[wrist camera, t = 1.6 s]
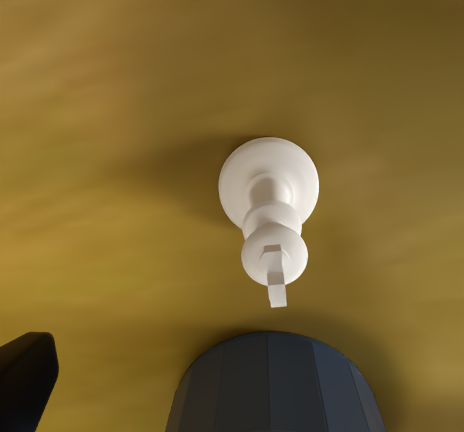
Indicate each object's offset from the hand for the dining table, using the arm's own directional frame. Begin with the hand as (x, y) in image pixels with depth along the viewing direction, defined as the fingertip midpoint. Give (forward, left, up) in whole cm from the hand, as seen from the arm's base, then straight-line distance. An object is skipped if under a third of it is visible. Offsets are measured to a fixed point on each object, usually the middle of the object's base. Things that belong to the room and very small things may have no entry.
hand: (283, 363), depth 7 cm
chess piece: (0, 0, -13) cm, 13 cm away
